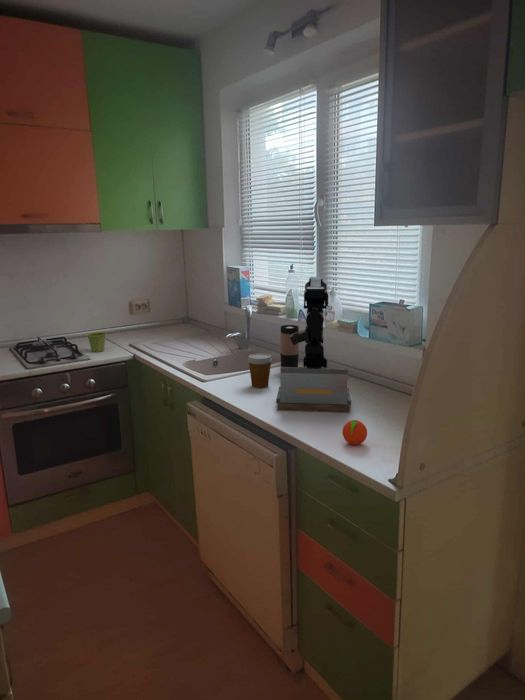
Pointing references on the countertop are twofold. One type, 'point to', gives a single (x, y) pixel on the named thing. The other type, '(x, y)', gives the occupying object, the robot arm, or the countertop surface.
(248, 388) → the countertop surface
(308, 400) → the panel
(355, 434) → the clementine
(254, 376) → the disposable coffee cup
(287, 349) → the travel mug
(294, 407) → the tray
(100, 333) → the plant pot
